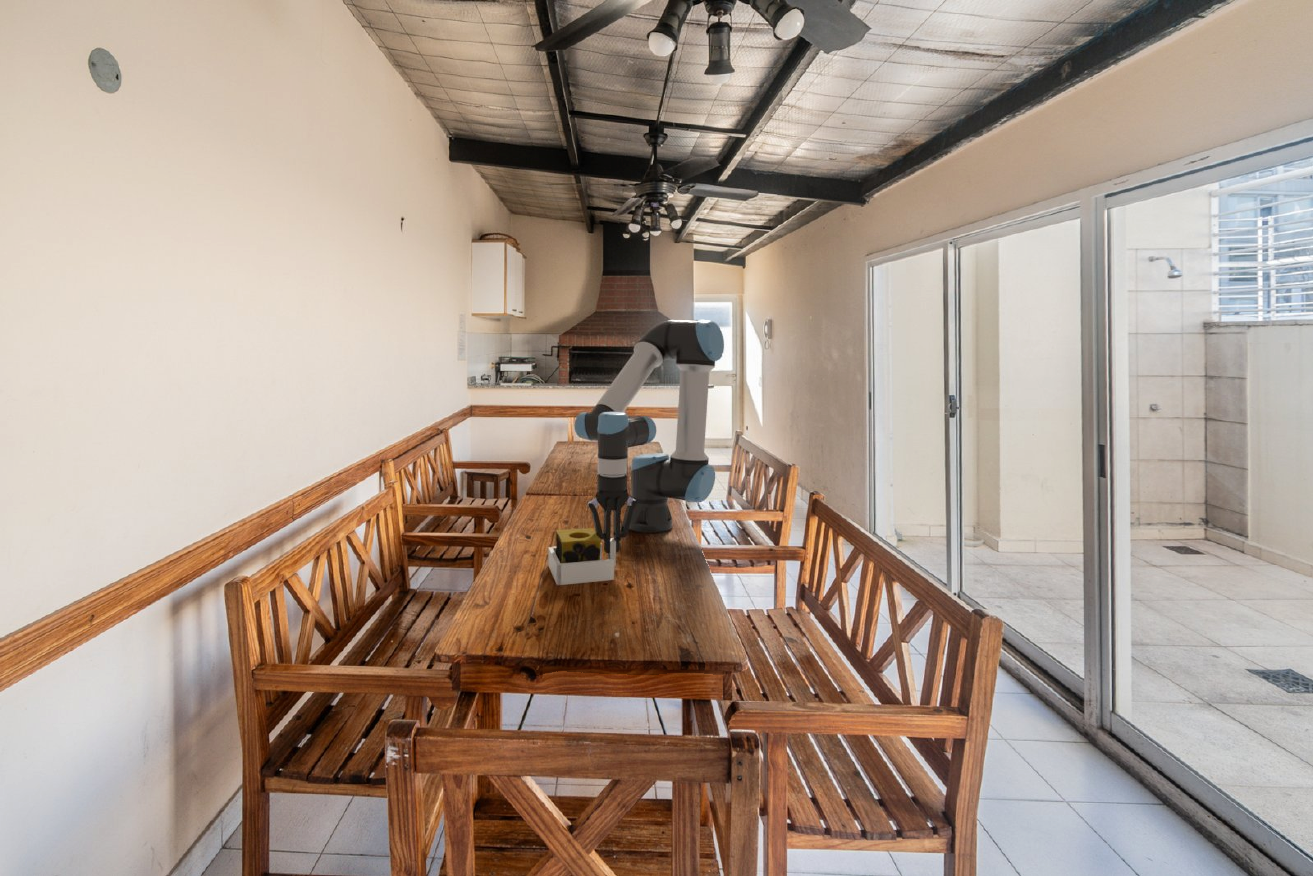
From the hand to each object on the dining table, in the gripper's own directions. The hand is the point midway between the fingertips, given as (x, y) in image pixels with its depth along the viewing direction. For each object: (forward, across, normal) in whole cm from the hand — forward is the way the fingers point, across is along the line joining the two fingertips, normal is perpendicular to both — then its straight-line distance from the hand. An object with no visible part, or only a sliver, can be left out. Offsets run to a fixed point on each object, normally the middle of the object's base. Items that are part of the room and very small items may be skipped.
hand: (611, 564), depth 163 cm
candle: (+2, +9, 0) cm, 9 cm away
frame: (+2, +8, 0) cm, 8 cm away
